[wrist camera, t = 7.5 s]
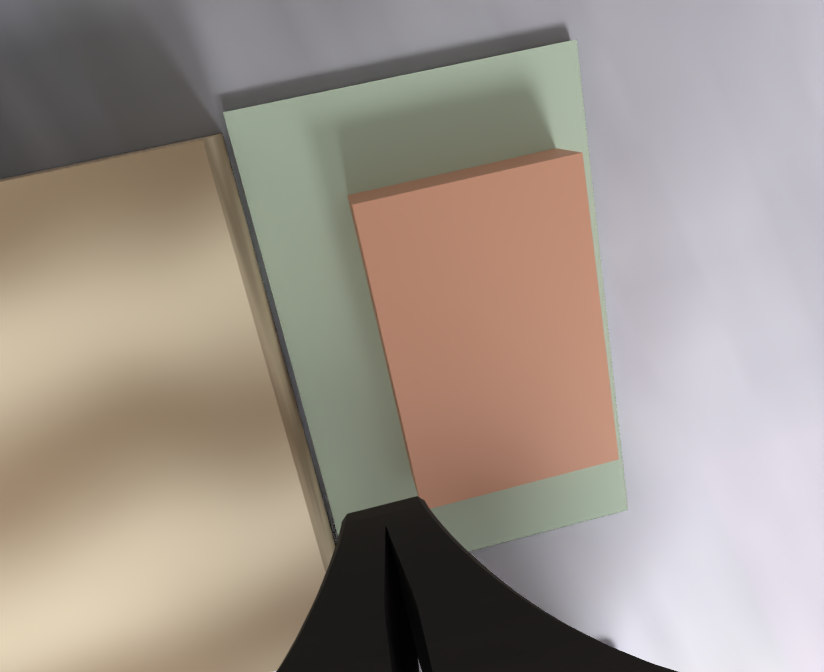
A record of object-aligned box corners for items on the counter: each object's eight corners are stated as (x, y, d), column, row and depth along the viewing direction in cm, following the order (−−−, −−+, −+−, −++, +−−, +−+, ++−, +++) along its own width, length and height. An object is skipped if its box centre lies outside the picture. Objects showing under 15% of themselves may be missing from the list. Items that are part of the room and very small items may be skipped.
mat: (622, 503, 24) (627, 510, 24) (349, 574, 24) (350, 582, 23) (570, 40, 19) (576, 38, 19) (224, 112, 19) (222, 112, 18)
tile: (422, 510, 21) (412, 476, 22) (618, 459, 21) (592, 430, 23) (352, 204, 18) (347, 195, 19) (582, 152, 18) (556, 148, 20)
